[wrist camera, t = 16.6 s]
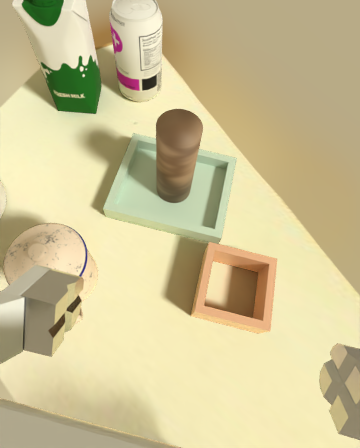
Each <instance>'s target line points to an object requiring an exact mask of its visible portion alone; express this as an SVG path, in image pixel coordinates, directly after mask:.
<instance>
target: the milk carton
mask: <svg viewBox="0 0 360 448" xmlns="http://www.w3.org/2000/svg"><path fill="white" fill-rule="evenodd" d="M12 5H13V8H14V9H15V11H16V13H17V15H18V17H19V19H20V20H21V22H22V24H23V26H24V28H25V30H26V33H27V35H28V38H29V40H30V43H31V45H32V47H33V50H34V52H35V55H36V57H37V60H38V62H39V65H40V67H41V70H42V72H43V75H44V77H45V80H46V82H47V85H48V87H49V90H50V92H51V94H52V97H53V99H54V102H55V104H56V106H57V109H58V111H69V112H81V113H93V114H96V111H97V106H98V101H99V97H100V92H101V79H100V71H99V65H98V60H97V55H96V50H95V45H94V40H93V35H92V30H91V26H90V22H89V14H88V10H87V6H86V0H14V1H13V3H12Z"/></svg>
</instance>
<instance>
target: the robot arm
mask: <svg viewBox="0 0 360 448" xmlns="http://www.w3.org/2000/svg"><path fill="white" fill-rule="evenodd" d="M5 206H6V191H5V188H4V186H3V184H2V182H1V181H0V218H1V216H2V214H3V212H4V209H5ZM83 285H84V279H83V277H80V276H77V275H73V274H70V273H66V272H63V271H59V270H55V269H52V268H48V267H44V266H40V265H35V266H33V267H32V268H31V269H29V270H28V271H27V272H26V273H24V274H23V275H22V276H20V277H19V278H18V279H17V280H15V281H14V282H13V283H11V284H10V285H9V286H8V287H6V288H5V289H4V290H2V291H0V364H1V363H3V362H5V361H7V360H8V359H10V358H12V357H14V356H16V355H17V354H19V353H21V352H22V351H23V350H25V351H30V352H34V353H38V354H42V355H47V356H51V357H52V356H53V354H54V353H55V351H56V350H57V348H58V347H59V346H60V344H61V343H62V341H63V340H64V332H67V331H69V330H71V329H72V327H73V326H74V324H75V322H76V320H77V318H78V316H79V313H80V309H81V303H82V300H81V298H80V296H79V294H80V292H81V291H82V290H83ZM330 355H331V359H332V360H330V361H328V362H326V363H324V365H323V367H322V369H321V371H320V379H319V383H320V389H321V392H322V394H323V397H324V398H325V399H326V400H327V401H328V402H329V403H330V404H331V407H330V410H329V412H330V414H331V417H332V419H333V421H334V424H335V426H336V429H337V431H338V434H341V435H345V436H348V437H351V438H355V439H358V440H360V349H359V348H354V347H350V346H346V345H342V344H338V343H337V344H336V345H335V346H333V348H332V350H331V351H330ZM0 448H181V447H177V446H173V445H170V444H166V443H162V442H159V441H155V440H152V439H148V438H144V437H141V436H137V435H133V434H130V433H126V432H122V431H119V430H115V429H111V428H108V427H104V426H101V425H97V424H93V423H90V422H86V421H82V420H79V419H75V418H71V417H68V416H64V415H61V414H57V413H53V412H50V411H46V410H42V409H39V408H35V407H31V406H28V405H24V404H20V403H17V402H13V401H9V400H6V399H2V398H0Z"/></svg>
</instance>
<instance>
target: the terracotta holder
mask: <svg viewBox="0 0 360 448" xmlns="http://www.w3.org/2000/svg"><path fill="white" fill-rule="evenodd" d="M213 261H216V262H219V263H223V264H227V265H231V266H235V267H239V268H243V269H247V270H251V271H255V272H258V280H257V289H256V297H255V305H254V313H253V318H250V317H246V316H242V315H238V314H235V313H231V312H227V311H223V310H219V309H215V308H211V307H207V306H204V303H205V298H206V293H207V288H208V283H209V278H210V273H211V268H212V262H213ZM276 266H277V259H276V258H272V257H268V256H264V255H260V254H256V253H252V252H248V251H244V250H240V249H236V248H232V247H228V246H224V245H220V244H216V243H212V242H209V243H208V245H207V247H206V249H205V252H204V256H203V260H202V265H201V270H200V274H199V279H198V284H197V288H196V293H195V298H194V302H193V307H192V312H191V316H193V317H197V318H200V319H204V320H208V321H212V322H216V323H220V324H224V325H227V326H231V327H235V328H239V329H243V330H247V331H250V332H254V333H264V332H269V331H270V328H271V318H272V308H273V297H274V287H275V276H276Z"/></svg>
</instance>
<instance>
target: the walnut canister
mask: <svg viewBox="0 0 360 448" xmlns="http://www.w3.org/2000/svg"><path fill="white" fill-rule="evenodd" d="M202 131H203V125H202V122H201V120H200V119H199V118H198V117H197V116H196V115H195V114H194V113H192V112H190V111H187V110H183V109H173V110H169V111H166V112H165V113H163V114H162V115H161V116H160V117H159V118H158V120H157V123H156V189H157V193H158V195H159V196H160V198H161V199H163V200H164V201H166V202H169V203H179V202H182V201H184V200H185V199H186V198H187V197H188V196H189V194H190V190H191V185H192V180H193V175H194V170H195V166H196V161H197V156H198V151H199V146H200V141H201V136H202Z"/></svg>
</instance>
